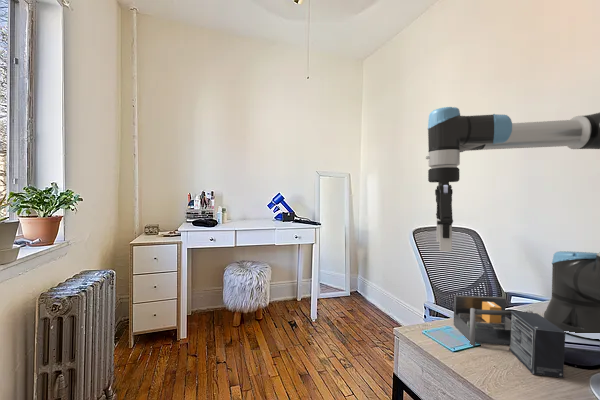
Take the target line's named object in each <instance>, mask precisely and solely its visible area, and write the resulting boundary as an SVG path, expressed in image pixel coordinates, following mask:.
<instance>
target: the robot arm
mask: <svg viewBox="0 0 600 400" xmlns="http://www.w3.org/2000/svg"><path fill="white" fill-rule="evenodd" d="M427 123H428V124H427V138H428V139H427V140H428V142H427V143H428V155H427V156H426V157H425V160H428V167H429V169H428V170H427V171H428V172H427V173H428V175H427V177H428V178H427V179H428V180H427V181H428V182H429V183H437V184H438V185H437V186H436V188H435V190H434V195H435V202H436V213H435V215H436V216H435V217H436V243H439V252H453V222H454V220H453V206H452V205H453V189H452V188H453V186H452V184H450V183H457V182H459V181H460V168H459V167H458V166H460V164H461V159H460V158H461V155H460V153H463V152H467V151H468V152H469V151H471V152H472V151H483V150H484V151H485V150H486V151H487V150H506V149H507V150H509V149H511V150H513V149H530V148H531V149H533V148H534V149H535V148H553V147H555V148H556V147H567V148H569V149H571V150H600V112H596V113H592V114H585V115H577V116H573V117H571V118H570V119H564V120H563V119H562V120H546V121H545V120H544V121H528V122H525V121H524V122H513V121H512V118H511V117H510V116H509V115H508V114H495V113H493V114H480V115H479V114H478V115H477V114H476V115H461V112H460V108H458V107H455V106H454V107H453V106H445V107H440V108H435V109H433V110H432V111H431V112H430V113H429V115H428V121H427ZM551 264H552V267H551V268H552V269H551V271H552V273H551V298H550V301H549V303H548V304H547V307H546V309H545V311H543V318H545V319H546V320H548V321H549V322H551V323H552V324H554V325H555V326H557V327H558V328H560V329H561V330H563V331H569V332H575V333H600V252H590V251H585V252H584V251H570V250H569V251H568V250H567V251H564V250H563V251H561V250H560V251H556V252H554V254H553V257H552V262H551Z"/></svg>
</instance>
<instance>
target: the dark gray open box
mask: <svg viewBox="0 0 600 400" xmlns="http://www.w3.org/2000/svg"><path fill="white" fill-rule="evenodd" d="M453 297H454V298H453V326H454V327H455V328H456V329H457V330H458V332H460V333H461V334H462V336H463V335H464V336H465V337H466V338H467V339H468V340H469V341H470V308H474V309H479V310H482V302H494V303H495V304H497V305H498V306H500V307H501V311H506V305H507V304H506V302H507V301H506V300H507V299H506V297H503V296H485V295H484V296H483V295H482V296H481V295H458V294H457V295H453ZM510 335H511V319H510V318H509V317H508V316H504V315H501V323H493V322H486V321H485V320H484V319H482V314H476V316H475V342H477V343H476V344H488V345H489V344H490V345H505V346H510ZM464 336H463V337H464ZM465 337H464V338H465ZM466 338H465V339H466ZM467 339H466V340H467ZM468 340H467V341H468ZM469 341H468V342H469Z"/></svg>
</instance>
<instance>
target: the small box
mask: <svg viewBox="0 0 600 400" xmlns="http://www.w3.org/2000/svg"><path fill="white" fill-rule="evenodd" d="M510 311H511V316H510V318H511V319H510V320H511V335H510V345H509V351H510V352H511V353H512V355H514V357H516V358H517V359H518V361H519V362H520V363H521V364H522V365H523V366H524V367H526V369H527V370H528V371H529V372H530V373H531V374H532V375H538V376H547V377H552V378H553V377H554V378H559V379H560V378H563V379H564V377H565V376H564V373H565V372H564V370H565V350H566V348H565V346H566V332H564V331H563V330H561V329H560V328H558V327H557V326H555V325H554V324H552V323H551V322H549V321H548V320H546V319H545V318H544V316H542V315H540V314H538V313H535V312H533V313H528V312H527V311H523V312H519V311H520V310H510Z"/></svg>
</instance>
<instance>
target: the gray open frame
mask: <svg viewBox="0 0 600 400" xmlns="http://www.w3.org/2000/svg"><path fill="white" fill-rule="evenodd" d="M511 311H512V310H505V311H501V310H479V309H474V308H470V342H469V345H470V344H471V345H473V346H472V347H476V343H475V316H476V314H483V315H504V316H506V317H511ZM518 311H519V312H524V311H523V310H522V311H521V310H518ZM526 312H528V313H534V312H533V311H532V310H526ZM471 345H470V346H471Z"/></svg>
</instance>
